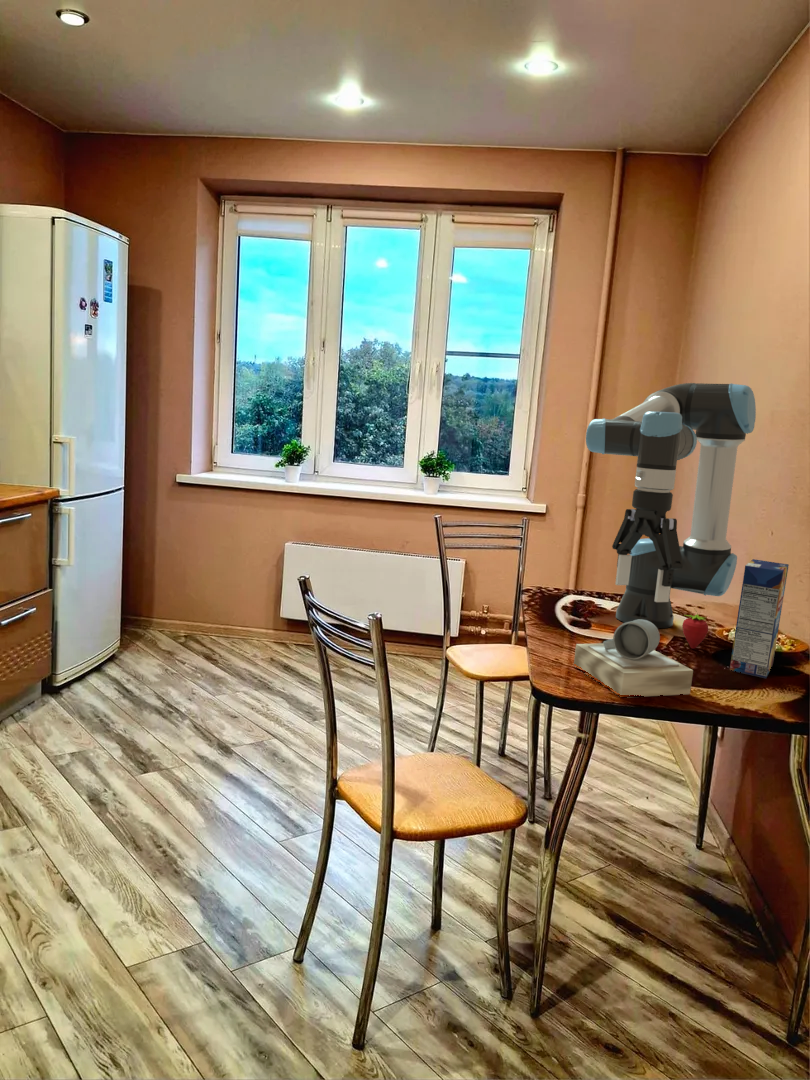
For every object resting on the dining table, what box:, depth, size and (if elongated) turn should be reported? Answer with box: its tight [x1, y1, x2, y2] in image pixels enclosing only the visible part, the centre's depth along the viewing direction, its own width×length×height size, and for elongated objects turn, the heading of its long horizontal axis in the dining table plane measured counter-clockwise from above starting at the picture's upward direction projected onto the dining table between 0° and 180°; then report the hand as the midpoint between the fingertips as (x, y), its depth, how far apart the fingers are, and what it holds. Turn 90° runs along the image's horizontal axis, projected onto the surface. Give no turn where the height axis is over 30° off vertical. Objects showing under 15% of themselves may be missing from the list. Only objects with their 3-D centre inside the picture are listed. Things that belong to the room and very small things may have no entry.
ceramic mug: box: [602, 619, 661, 660], centre depth 150 cm, size 11×8×8 cm
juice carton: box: [729, 558, 790, 679], centre depth 163 cm, size 12×8×24 cm, turn 147°
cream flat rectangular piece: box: [573, 642, 694, 697], centre depth 150 cm, size 18×16×5 cm
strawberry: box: [681, 609, 709, 650], centre depth 176 cm, size 6×8×10 cm
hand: (640, 593), depth 148 cm, fingers open, 13 cm apart
